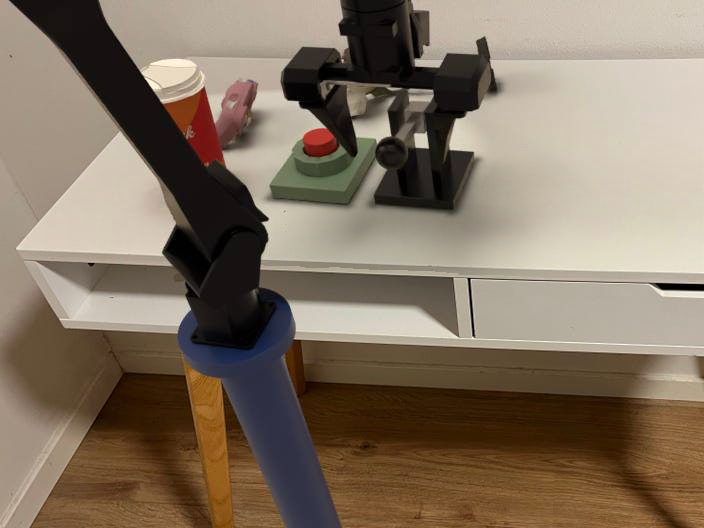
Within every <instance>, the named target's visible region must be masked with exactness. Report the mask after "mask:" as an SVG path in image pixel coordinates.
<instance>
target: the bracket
mask: <svg viewBox="0 0 704 528" xmlns="http://www.w3.org/2000/svg"><path fill="white" fill-rule="evenodd" d="M398 90H399V89H398ZM395 95H396V96H395V97H394V99H392V100H393V101H392V102H391V104H390V105H389V106H388V109H387V117H388V123H389V130H390V136H393V137H395V136H396V134H397V133H398V132H399V130H400V129H401V128H402V126H403V125H404V124H405V122H404V109H405V108H406V107H407V106H408V104H409V103H410V102H411V101H410V95H409V90H407V91H405V90H399V92H398V93H396V94H395ZM429 102H430V104H429V105H428V107H427V109H426V111H425V122H426V130H427V132H426V137H427V147H416V141H415V139H416V138H415V134H414V135H413V137H412V138H411V140H410V141H409V143H408V144H407V145H406V146H407V149H408V158H407V161H406V163H405V164H404V165H403V166H402V167H401V168H399V169H397V170H387V169H386V171H385V173H384V175H383V177H382V179H381V180H380V182H379V183H378V185H377V187H376V189H375V191H374V193H373V200H374V204H376V205H385V206H386V205H387V206H397V207H408V208H409V207H411V208H422V209H433V210H443V211H444V210H445V211H454V210H455V208H456V206H457V204H458V201H459V199H460V196H461V194H462V192H463V189H464V187H465V184H466V182H467V180H468V177H469V175H470V172H471V171H472V166H473V165H474V163H475V151H472V150H471V151H470V150H455V149H451V147H450V146H451V145H449V147H448V151H447V155H446V159H445V161H444V164H439V161H438V157H437V153H436V143H435V132H434V121H433V111H434V110H435V108H436V106H437V103H435V102H434V95H433V96H432V98H431V100H430V101H429Z"/></svg>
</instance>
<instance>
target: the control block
mask: <svg viewBox="0 0 704 528" xmlns="http://www.w3.org/2000/svg"><path fill="white" fill-rule="evenodd" d="M356 139H357V147H358V154H357V155H356V157H355V158H352V157H350V155H349V154H348V153H347V152H346V151H345V149H344V148H343V147H342V146H341V144H340V143H339V142H338V141H337V140H336V143H337V150H336V152H334V153H332V154H330V155H328V156H323V157H310V156H308V155H307V154H306V151H305V147H304V143H303V137H302V138H301V139H299V140H297V141H296V143H295V144H294V145H293V147H292V148H291V153H290V155H289V157H288V158H287V159H286V161H285V162H284V164H283V165H282V166H281V167H280V169H279V171H278V172H277V174H276V175H275V176H274V178H272V180H271V182H270V183H269V189H270V192H271V195H272V198H274V199H287V200H297V201H298V200H299V201H311V202H321V203H331V204H343V205H348V204H349V203H350V201H351V199H352V197H353V196H354V194H355V192H356V191H357V188H358V187H359V185H360V183H361V182H362V180H363V178H364V176H365V174H366V173H367V171H368V169H369V168H370V166H371V165H372V162H373V161H374V159H375V158H376V156H375V149H376V146H377V144H378V141H377V138H373V137H359V136H356Z"/></svg>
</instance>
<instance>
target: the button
mask: <svg viewBox="0 0 704 528" xmlns="http://www.w3.org/2000/svg"><path fill="white" fill-rule="evenodd" d="M302 138H303V143H304V147H305V151H306V154H307V155H308V156H310V157H323V156H328V155H330V154H332V153H334V152H336V150H337V143H336V138H335V137H334V136H333V134H331V132H330V131H329V130H328V129H327V128H326V127H318V128H313V129H311V130H308V131H307V132H306V133H305V134H303V136H302Z"/></svg>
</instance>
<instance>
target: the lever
mask: <svg viewBox="0 0 704 528" xmlns="http://www.w3.org/2000/svg"><path fill="white" fill-rule="evenodd" d="M430 102H431V101H422V100H411V101H410V103H409V104H408V106H407V107H406V108H405V109H404V122H405V124H404V125H403V126H402V128H401V129H400V130H399V132H398V133H397V134H396V136H395V137H393V136H391V135H390V136H385V137H383V138H381V139H380V140H379V141H378V142H377V146H376V149H375V160H376V162H377V163H378V165H379V166H380V167H381V168H383V169H385V170H386V171H387V170H397V169H399V168H401V167H402V166H403V165H404V164H405V163H406V161H407V158H408V149H407V146H406V145H407V144H408V143H409V141H410V140H411V138H412V137H413V135H414V136H415V134H424V135H425V134H427V130H426V122H425V111H426V109H427V107H428V105H429V104H430Z"/></svg>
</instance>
